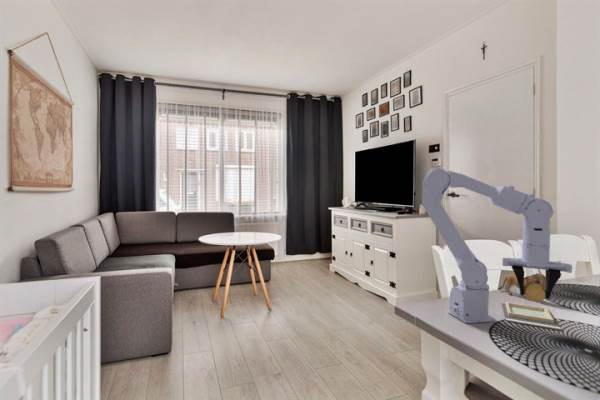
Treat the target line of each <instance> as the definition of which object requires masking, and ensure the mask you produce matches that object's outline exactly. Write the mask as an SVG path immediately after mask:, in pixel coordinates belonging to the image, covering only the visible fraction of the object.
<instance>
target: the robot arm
mask: <svg viewBox="0 0 600 400" xmlns="http://www.w3.org/2000/svg"><path fill="white" fill-rule="evenodd" d="M515 187H516V186H513V185H508V186H507V185H501V186H499V187H495V186H492V185H490V184H488V183H485V182H482V181H480V180H478V179H475V178H473V177H470V176H468V175H465V174H463V173H459V172H456V171H451V170H447V171H446V170H445V169H443V168H440V167H435V168H432V169H430V170H429V171H428V172H426V175H425V177H424V180H422V199H421V205H422V207H423V208H424V210H425V212H426V213H427V214H428V215H427V216H429V218H430V220H431V221H432V223H433V224H434V227H435V228H436V230H437V232H438V233H439V235H440V236H441V238H442V240H443V241H444V243H445V244H446V246H447V248H448V250H449V251H450V253H451V254H452V256H453V257H454V259H455V262H456V265H457V266H458V269H459V270H460V273H461V274H460V275H461V280H460V281H459V284H458V285H457V286H453V287H452V288H451V290H450V292H449V310H447V312H448V314H450V315H451V316H454V317H455V318H456V319H459V320H460V321H462V322H464V324H465V323H466V324H473V323H474V324H475V323H487V322H496V321H497V319H496V318H495V317H492V316H490V315H489V303H490V301H489V299H490V295H489V294H490V285H489V284H488V279H489V277H488V269H487V266H486V265H485V264H484V263H483V262H482V261H481V260H479V259H478V258H477V257H476V255H475V254H474V253H473V251H472V250H471V249H470V248H469V246H468V244H467V242H466V241H465V240H464V238H463V236H462V235H461V233H460V231H459V230H458V228H457V227H456V224H454V222H453V221H452V219H451V217H450V216H449V214H448V212H447V211H446V209H445V208H444V206H443V205H442V200H443V197H444V195H445V192H446V191H447V190H448V188H452V189H455V188H463V189H466V190H469V191H471V192H474V193H477V194H479V195H481V196H485V197H488V198H490V199H491V202H492V204H493V205H494V206H497V207H499V208H501V209H504V210H506V211H509V212H511V213H514V214H517V215H523V216H524V217H523V219H524V220H523V226H522V247H521V248H522V249H521V251H522V252H521V253H522V254H521V257H520V258H516V257H513V258H511V257H502V258H501V259H502V261H501V263H502V264H501V265H502V266H503V267H511V269H512V271H513V273H514V274H515V276H516V278H517V281H518V284H519V288H518V289H519V294H520V296H525V295H524V278H525V271H524V269H525V268H526V269H534V270H535V269H536V270H544V271H545V277H546V287H545V288H544V289H545V291H546V297H545V299H548V300H551V299H550V298H551V295H552V292H553V290H554V288H555V285H556V284H557V283H558V281H559V280H560V279H561V277H562V273H561V272H563V273H568V274H569V273H570V274H572V273H573V265H572V264H571V263H567V262H557V261H550V251H551V250H550V248H551V244H550V243H551V227H550V226H551V218H552V217H553V216H554V212H555V211H554V210H553V206H552V205H551V204H550V202H549V201H547V200H546V199H545V200H544V199H541V198H538V197H535V194H532V193H529V194H528V193H525V192H523V191H519V190H518V189H515Z"/></svg>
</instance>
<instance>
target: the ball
mask: <svg viewBox="0 0 600 400" xmlns="http://www.w3.org/2000/svg"><path fill="white" fill-rule="evenodd" d="M523 296H525V298H526V300H528V299H529V300H528V301H531V302H535V303H539V302H542V301H544V300H545V299H546V291H545V288H543V287H542V286H541V285H539V284H537V283H529V284H527V285H526V286H525V287H524V295H523Z"/></svg>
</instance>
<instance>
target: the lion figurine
mask: <svg viewBox="0 0 600 400" xmlns="http://www.w3.org/2000/svg"><path fill="white" fill-rule="evenodd" d="M529 283H537V284H539V285H541V286H542V287H543V288H544V289H545V287H546V274H545V275H544V274H543V273H534V274H532V275H526V276H524V287H525V286H526V285H527V284H529ZM512 286H515V287H517V288H518V289H519V284H518V281H517V278H516V275H514V274H508V275H506V276H505V278H504V281H503V283H502V285H501V286H500V287H497V290H498V291H499V290H502V289H504V291H506V292H507V295H509V296H512V295H513V293H512V292H511V291H510V290H511V287H512ZM527 300H528V301H530V300H529V299H527Z"/></svg>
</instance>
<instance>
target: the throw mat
mask: <svg viewBox="0 0 600 400" xmlns="http://www.w3.org/2000/svg"><path fill="white" fill-rule="evenodd" d="M501 307H502V310H503V315H504V317H505V321H506V322H508V323H512V324H519V325H523V326H530V327H536V328H541V329H548V330H553V331H559V332H562V330H563V329H562V328H561V327H560V325H559V324H558V322H557V321H556V319H555V317H554V316H553V314H552V312H551V311H550V310H549V309H547V307H541V306H534V305H530V304H529V305H528V304H522V303H515V302H508V301H505V303H501Z"/></svg>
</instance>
